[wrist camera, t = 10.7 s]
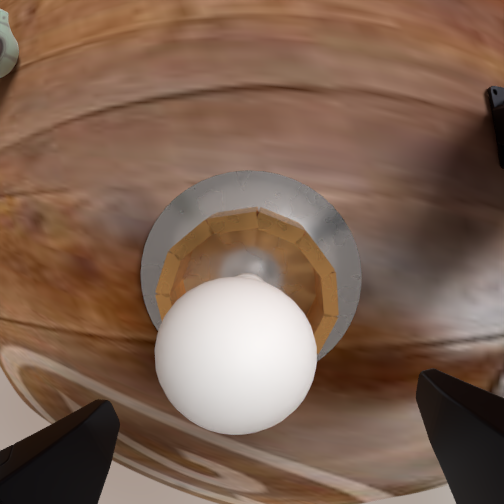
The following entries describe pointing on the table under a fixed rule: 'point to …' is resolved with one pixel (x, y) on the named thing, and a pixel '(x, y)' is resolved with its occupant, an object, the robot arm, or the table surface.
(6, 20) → the robot head
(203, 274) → the wooden ring on plate
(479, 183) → the table surface
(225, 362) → the lightbulb
